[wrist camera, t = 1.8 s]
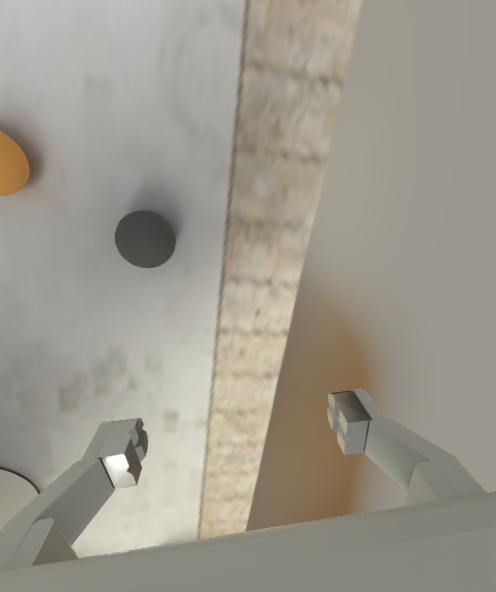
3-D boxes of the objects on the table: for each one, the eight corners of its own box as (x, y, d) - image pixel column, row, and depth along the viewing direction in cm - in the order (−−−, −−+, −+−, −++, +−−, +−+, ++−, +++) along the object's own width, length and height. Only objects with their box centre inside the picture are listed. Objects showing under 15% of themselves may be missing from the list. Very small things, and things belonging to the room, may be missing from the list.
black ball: (167, 268, 29) (156, 284, 24) (119, 246, 27) (96, 257, 22) (187, 225, 27) (180, 232, 22) (137, 199, 26) (117, 199, 21)
